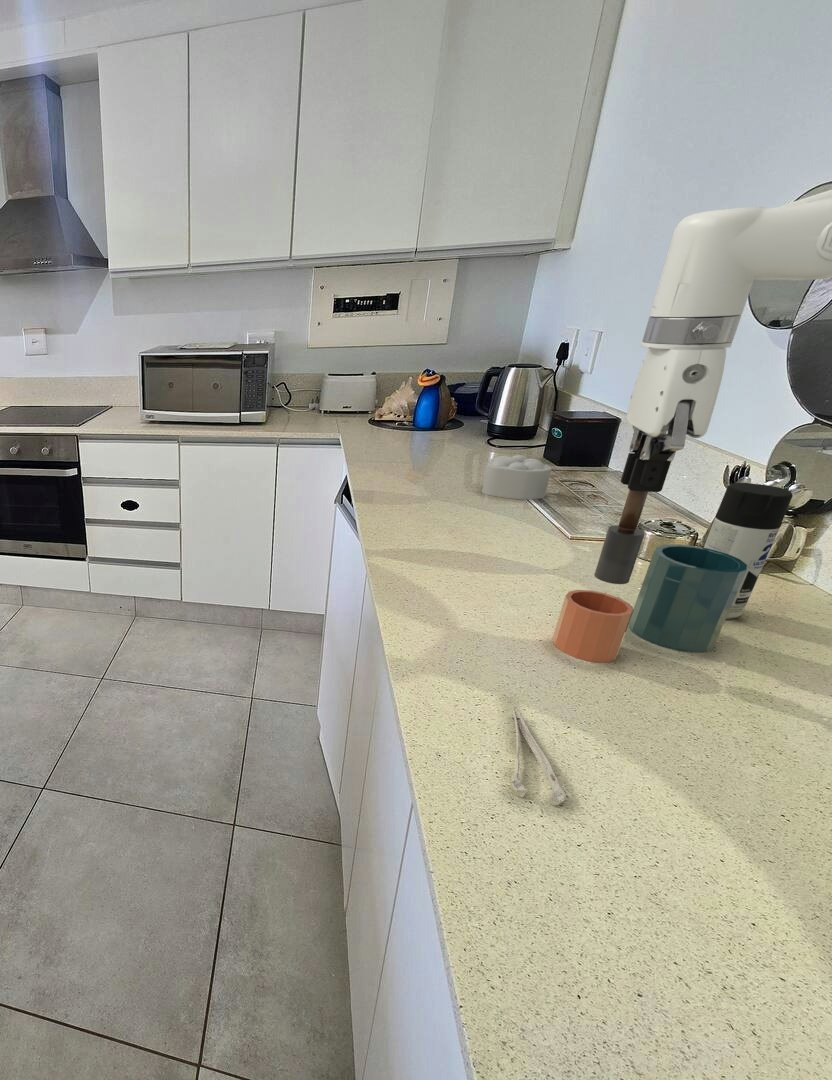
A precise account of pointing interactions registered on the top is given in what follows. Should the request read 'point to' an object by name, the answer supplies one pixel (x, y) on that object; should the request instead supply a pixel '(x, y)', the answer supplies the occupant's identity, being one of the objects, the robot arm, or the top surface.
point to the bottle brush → (622, 542)
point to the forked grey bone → (519, 789)
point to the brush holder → (592, 625)
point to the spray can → (748, 530)
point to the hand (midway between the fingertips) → (640, 486)
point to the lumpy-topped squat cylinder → (516, 478)
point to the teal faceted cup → (686, 597)
